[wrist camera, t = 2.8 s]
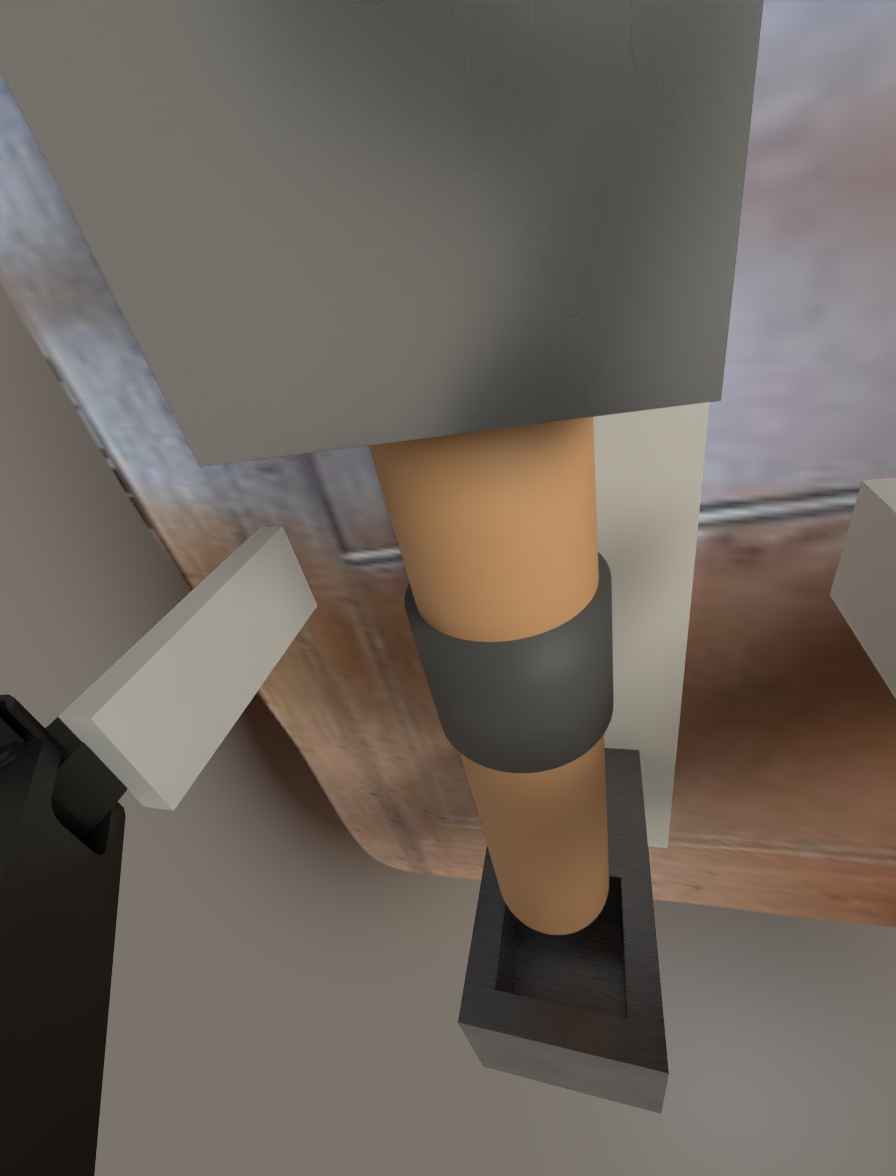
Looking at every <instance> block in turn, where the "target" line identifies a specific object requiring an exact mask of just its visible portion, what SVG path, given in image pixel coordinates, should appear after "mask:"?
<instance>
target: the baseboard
mask: <svg viewBox="0 0 896 1176" xmlns="http://www.w3.org/2000/svg"><path fill="white" fill-rule="evenodd" d="M709 404H710V402H705V403H697V404H690V405H682V406H674V407H666V408H658V409H650V410H642V411H635V412H627V413H619V414H611V415H603V416H595V417H593V424H594V453H595V482H596V511H597V540H598V552H599V553H600V554H601V555H602V556H603V558H604V559H605V560H606V562H607V564H608V566H609V568H610V572H611V582H612V640H613V699H614V702H613V713H612V718H611V721H610V723H609V726H608V728H607V730H606V731H605V733H604V744H605V748H614V749H629V750H639V753H640V764H641V775H642V786H643V797H644V808H645V819H646V830H647V841H648V846H649V847H658V848H666V849H667V848H668V838H669V827H670V817H671V806H672V795H673V785H674V774H675V764H676V753H677V743H678V732H679V721H680V711H681V700H682V690H683V679H684V669H685V658H686V647H687V637H688V626H689V616H690V605H691V595H692V584H693V573H694V563H695V552H696V542H697V531H698V521H699V510H700V499H701V489H702V478H703V468H704V457H705V447H706V436H707V425H708V415H709Z"/></svg>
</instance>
